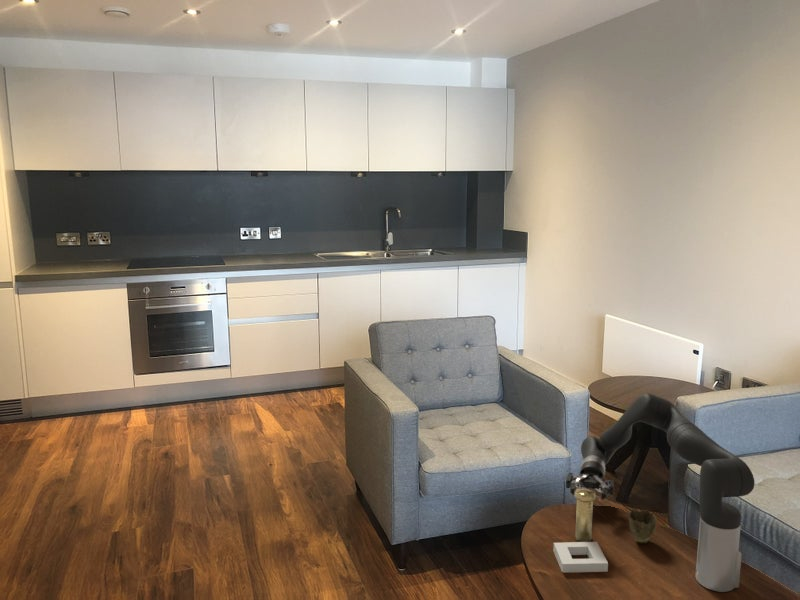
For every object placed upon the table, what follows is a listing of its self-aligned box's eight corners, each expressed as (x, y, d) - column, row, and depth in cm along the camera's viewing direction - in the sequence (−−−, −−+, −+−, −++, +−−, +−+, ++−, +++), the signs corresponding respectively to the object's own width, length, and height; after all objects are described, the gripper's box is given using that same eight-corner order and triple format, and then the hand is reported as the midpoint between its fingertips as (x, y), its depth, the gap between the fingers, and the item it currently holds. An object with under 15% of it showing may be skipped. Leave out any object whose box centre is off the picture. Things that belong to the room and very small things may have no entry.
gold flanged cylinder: (590, 532, 193) (592, 488, 190) (596, 543, 187) (598, 498, 185) (570, 532, 193) (572, 488, 190) (575, 544, 187) (577, 498, 185)
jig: (596, 549, 184) (596, 541, 184) (607, 571, 175) (608, 563, 174) (553, 550, 184) (553, 542, 184) (562, 572, 175) (562, 564, 174)
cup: (651, 534, 192) (652, 508, 190) (658, 548, 184) (660, 522, 183) (624, 533, 192) (626, 508, 191) (631, 547, 185) (632, 521, 184)
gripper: (570, 457, 215) (564, 479, 200) (616, 463, 210) (613, 486, 195) (569, 478, 217) (563, 502, 202) (615, 485, 212) (612, 509, 197)
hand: (588, 494), depth 199 cm, fingers open, 8 cm apart
